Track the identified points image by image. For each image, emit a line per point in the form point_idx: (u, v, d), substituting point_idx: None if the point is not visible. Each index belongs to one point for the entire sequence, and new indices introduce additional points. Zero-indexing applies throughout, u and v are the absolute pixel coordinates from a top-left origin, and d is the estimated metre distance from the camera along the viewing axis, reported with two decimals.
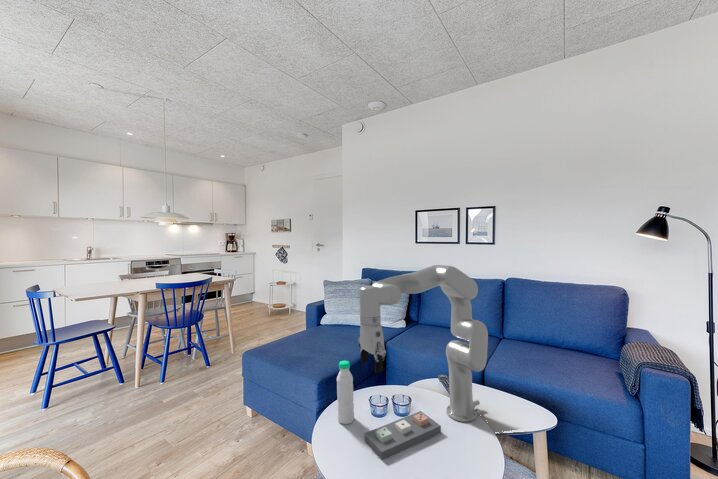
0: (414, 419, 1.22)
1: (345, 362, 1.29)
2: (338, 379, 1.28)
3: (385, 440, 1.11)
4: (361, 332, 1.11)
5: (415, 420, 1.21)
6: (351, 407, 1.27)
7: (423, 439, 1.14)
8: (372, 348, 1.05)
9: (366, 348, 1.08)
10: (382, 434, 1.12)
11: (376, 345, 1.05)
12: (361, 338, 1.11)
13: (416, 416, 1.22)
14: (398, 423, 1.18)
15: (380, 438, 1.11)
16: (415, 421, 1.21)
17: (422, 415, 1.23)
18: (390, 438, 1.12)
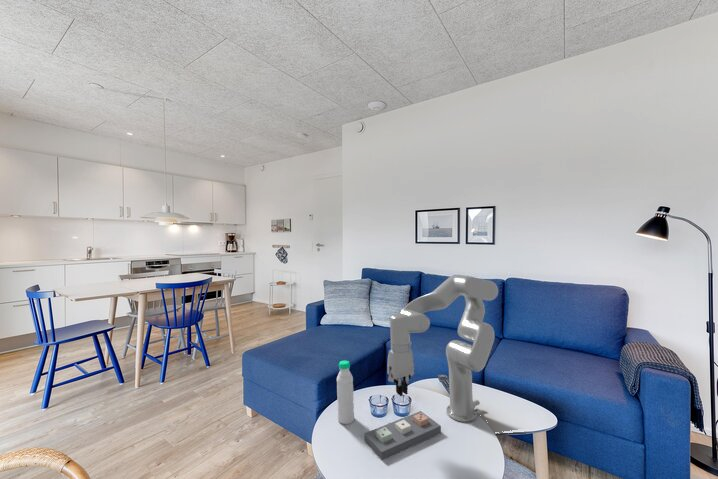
0: (414, 419, 1.22)
1: (345, 362, 1.29)
2: (338, 379, 1.28)
3: (385, 440, 1.11)
4: (398, 362, 1.14)
5: (415, 420, 1.21)
6: (351, 407, 1.27)
7: (423, 439, 1.14)
8: (413, 368, 1.17)
9: (405, 373, 1.15)
10: (382, 434, 1.12)
11: None
12: (398, 368, 1.14)
13: (416, 416, 1.22)
14: (398, 423, 1.18)
15: (380, 438, 1.11)
16: (415, 421, 1.21)
17: (422, 415, 1.23)
18: (390, 438, 1.12)
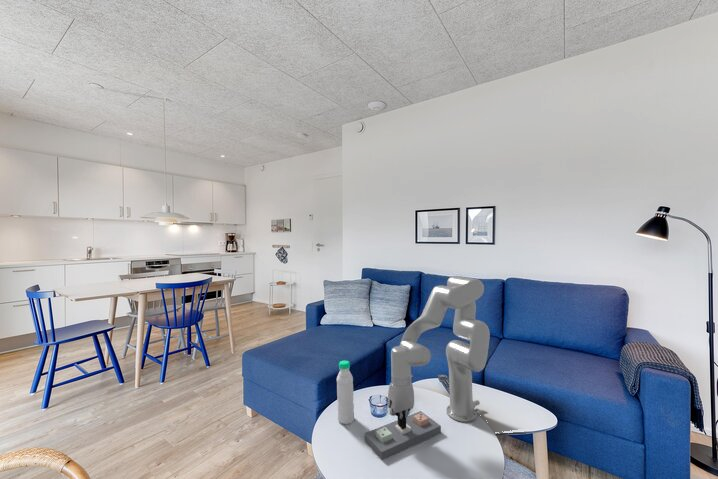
0: (414, 419, 1.22)
1: (345, 362, 1.29)
2: (338, 379, 1.28)
3: (385, 440, 1.11)
4: (399, 396, 1.14)
5: (415, 420, 1.21)
6: (351, 407, 1.27)
7: (423, 439, 1.14)
8: (413, 401, 1.17)
9: (405, 407, 1.15)
10: (382, 434, 1.12)
11: None
12: (398, 402, 1.14)
13: (416, 416, 1.22)
14: None
15: (380, 438, 1.11)
16: (415, 421, 1.21)
17: (422, 415, 1.23)
18: (390, 438, 1.12)
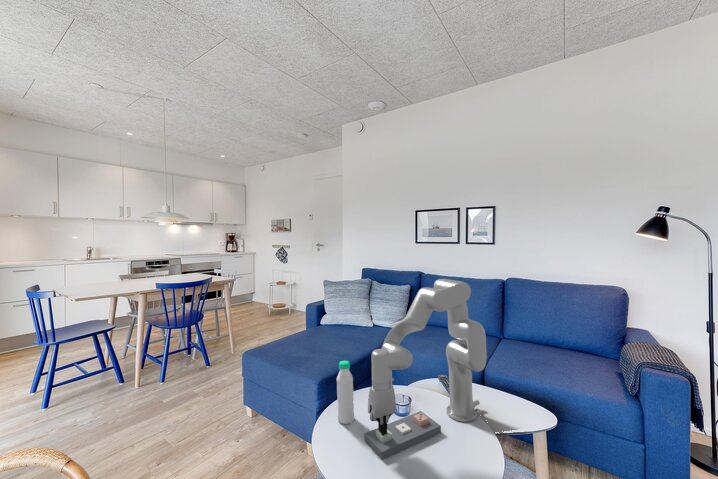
0: (414, 419, 1.22)
1: (345, 362, 1.29)
2: (338, 379, 1.28)
3: (385, 440, 1.11)
4: (379, 401, 1.09)
5: (415, 420, 1.21)
6: (351, 407, 1.27)
7: (423, 439, 1.14)
8: (394, 406, 1.13)
9: (386, 412, 1.11)
10: None
11: None
12: (379, 407, 1.09)
13: (416, 416, 1.22)
14: (398, 426, 1.18)
15: (380, 438, 1.11)
16: (415, 421, 1.21)
17: (422, 415, 1.23)
18: (390, 438, 1.12)
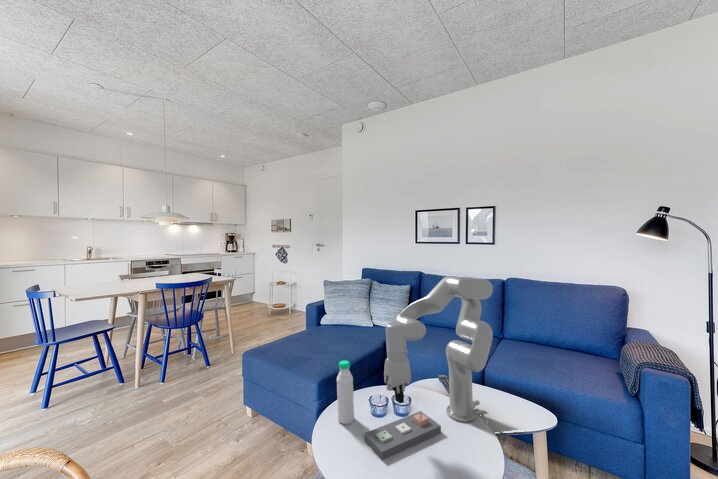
0: (414, 419, 1.22)
1: (345, 362, 1.29)
2: (338, 379, 1.28)
3: None
4: (395, 371, 1.13)
5: (415, 420, 1.21)
6: (351, 407, 1.27)
7: (423, 439, 1.14)
8: (410, 375, 1.17)
9: (402, 381, 1.15)
10: (382, 437, 1.12)
11: None
12: (395, 377, 1.13)
13: (416, 416, 1.22)
14: (398, 426, 1.18)
15: (380, 441, 1.11)
16: (415, 421, 1.21)
17: (422, 415, 1.23)
18: None
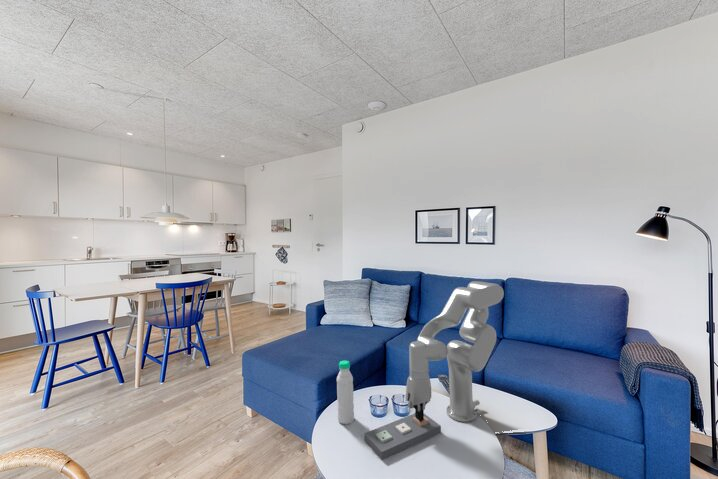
0: (414, 421, 1.22)
1: (345, 362, 1.29)
2: (338, 379, 1.28)
3: None
4: (417, 389, 1.18)
5: (415, 422, 1.21)
6: (351, 407, 1.27)
7: (423, 439, 1.14)
8: (430, 394, 1.22)
9: (423, 400, 1.20)
10: (382, 437, 1.12)
11: None
12: (417, 395, 1.18)
13: (416, 418, 1.22)
14: (398, 426, 1.18)
15: (380, 441, 1.11)
16: (415, 423, 1.21)
17: None
18: None
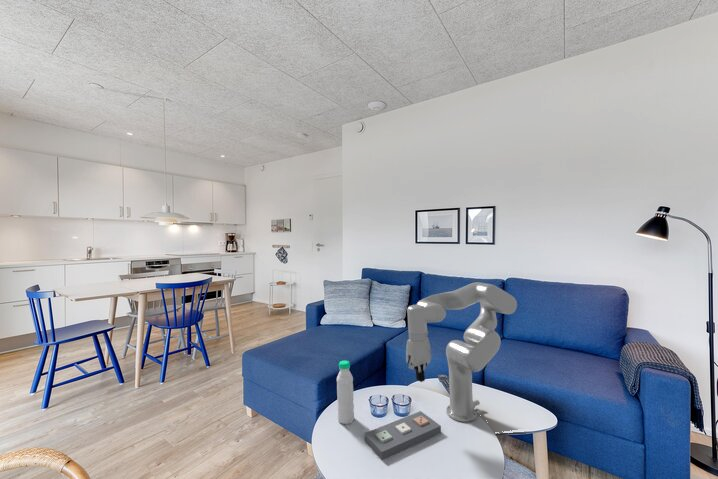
0: (414, 422, 1.22)
1: (345, 362, 1.29)
2: (338, 379, 1.28)
3: None
4: (417, 350, 1.19)
5: (415, 423, 1.21)
6: (351, 407, 1.27)
7: (423, 439, 1.14)
8: (430, 355, 1.23)
9: (423, 361, 1.21)
10: (382, 437, 1.12)
11: None
12: (417, 356, 1.19)
13: (416, 419, 1.22)
14: (398, 426, 1.18)
15: (380, 441, 1.11)
16: None
17: (422, 418, 1.23)
18: None
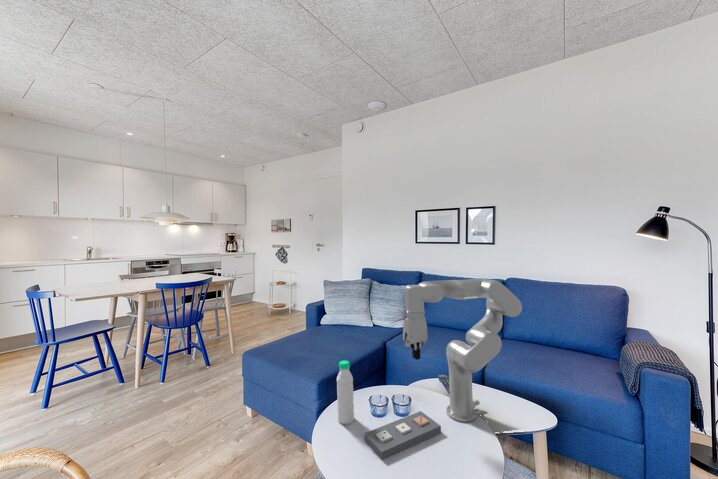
0: (414, 422, 1.22)
1: (345, 362, 1.29)
2: (338, 379, 1.28)
3: None
4: (413, 328, 1.23)
5: (415, 423, 1.21)
6: (351, 407, 1.27)
7: (423, 439, 1.14)
8: (426, 334, 1.26)
9: (419, 339, 1.24)
10: (382, 437, 1.12)
11: None
12: (413, 334, 1.23)
13: (416, 419, 1.22)
14: (398, 426, 1.18)
15: (380, 441, 1.11)
16: None
17: (422, 418, 1.23)
18: None
